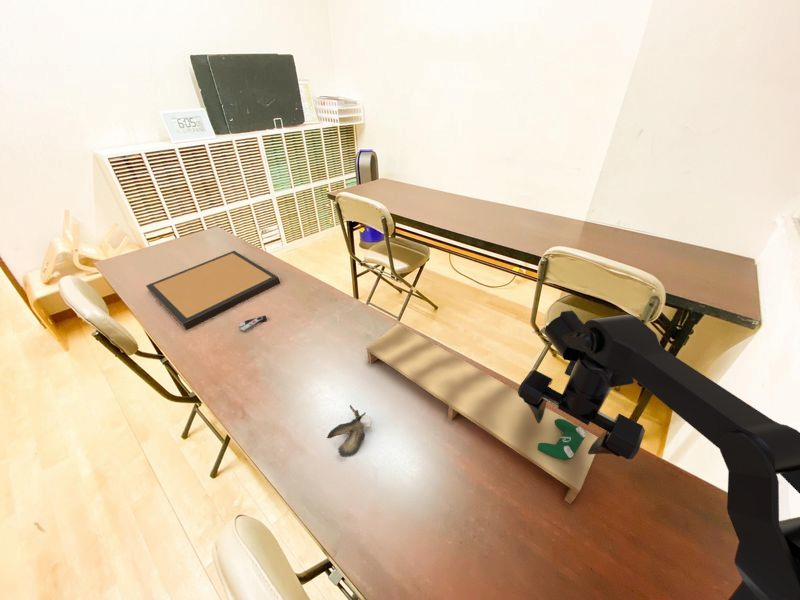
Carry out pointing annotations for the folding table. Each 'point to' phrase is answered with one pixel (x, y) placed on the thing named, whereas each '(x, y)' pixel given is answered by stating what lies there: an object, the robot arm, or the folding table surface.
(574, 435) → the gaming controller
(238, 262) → the cork board
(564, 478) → the shelf
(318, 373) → the folding table surface
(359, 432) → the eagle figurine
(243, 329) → the usb flash drive
